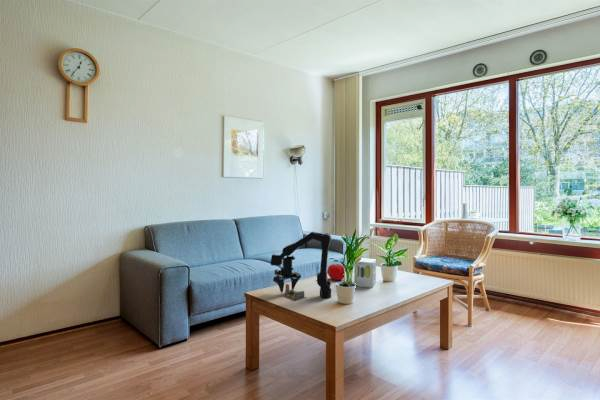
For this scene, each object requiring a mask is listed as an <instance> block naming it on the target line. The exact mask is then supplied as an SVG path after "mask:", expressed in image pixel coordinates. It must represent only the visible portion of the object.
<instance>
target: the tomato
mask: <svg viewBox="0 0 600 400" xmlns="http://www.w3.org/2000/svg"><path fill="white" fill-rule="evenodd" d="M343 267H344V266H343V265H342V264H339V263H336V264H333V263H332V264H330V265H329V266H327V276H329V278H330V279H332V280H334V281H341V280H343V279H344V278H345V276H344V275H343V274H344V268H345V267H344V268H343Z"/></svg>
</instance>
